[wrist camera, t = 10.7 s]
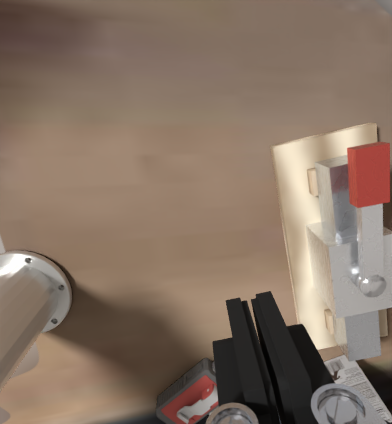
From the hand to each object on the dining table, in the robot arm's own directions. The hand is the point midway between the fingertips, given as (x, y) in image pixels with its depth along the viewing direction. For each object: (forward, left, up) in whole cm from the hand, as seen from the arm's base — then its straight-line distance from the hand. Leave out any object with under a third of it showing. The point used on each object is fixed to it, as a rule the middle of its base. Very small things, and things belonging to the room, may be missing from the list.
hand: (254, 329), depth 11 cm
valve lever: (+14, -6, -20) cm, 26 cm away
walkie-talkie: (-6, -32, -30) cm, 44 cm away
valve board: (+14, -13, -29) cm, 35 cm away
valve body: (+14, -13, -28) cm, 34 cm away
